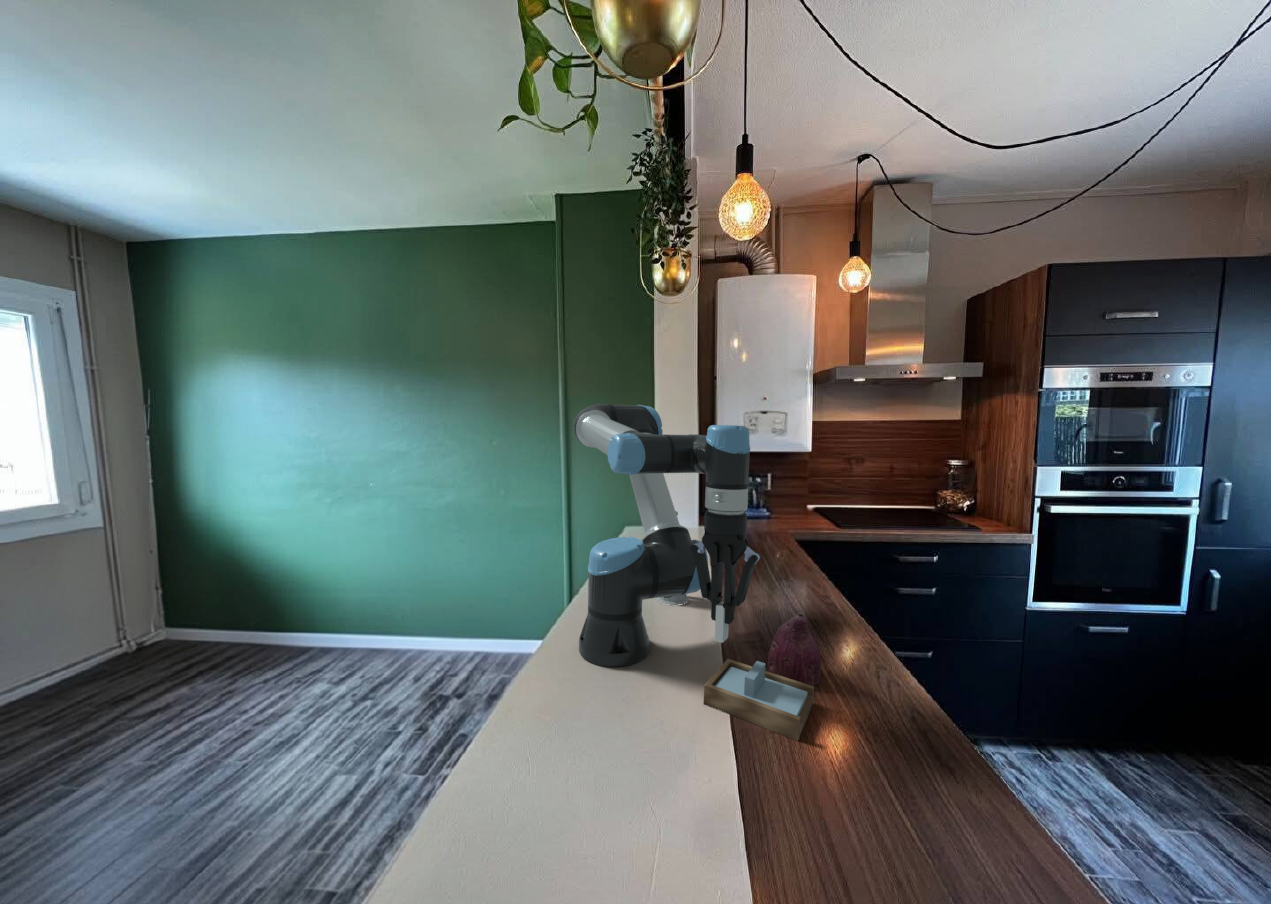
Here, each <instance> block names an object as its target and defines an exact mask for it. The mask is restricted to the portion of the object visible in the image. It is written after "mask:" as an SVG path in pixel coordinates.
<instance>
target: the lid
mask: <svg viewBox="0 0 1271 904" xmlns="http://www.w3.org/2000/svg"><path fill="white" fill-rule="evenodd" d="M766 664H767V663H765V662H761V661H758V660H756V661H755V662H754V664H753V665H752V668H751V669H750V671H749V672H746V671H743V670H740V669H737V668H734V667H730V668H729V669H728V671H727V672H726V673H725V674H724V675H723V677H722V678H721V679H720V680H719V681H718V683H717V684H716V685H715V686H717V687H719V688H722V689H725V690H728V691H730V692H733V693H736V694H739V695H741V696H744V697H747V698H750V699H752V700H755V701H758V702H761V703H763V704H766V705H769V706H772V707H774V708H777V709H780V710H783V711H785V712H788V713H791V714H794V715H796V716H799V713H800V711H801V709H802V707H803V705H804V702H805V700H806V698H807V693H808V692H807V691H804V690H801V689H797V688H794V687H791V686H788V685H785V684H782V683H779V682H776V681H773V680H770V679H767V678H765V671H766V666H767V665H766Z"/></svg>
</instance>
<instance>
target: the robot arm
mask: <svg viewBox="0 0 1271 904" xmlns="http://www.w3.org/2000/svg"><path fill="white" fill-rule="evenodd" d="M662 422H663V421H662V419H661V416H660V415H659V412H658V411H657V410H656V408H653V407H652V406H649V405H643V404H635V405H630V404H612V403H611V404H610V403H597V404H593V405H589V406H587V407H586V408H584V409H582V410H581V411H580V412H578V414H577V415H576V416H575V418H574V420H573V429H572V431H573V433H574V436H575V438H576V439H577V440H578V441H579V442H580V443H581V444H582V445H584V446H586V447H587V448H594V449H597V450H599V451H600V452H601V453H603V454H605V455H606V456H607V461H608V464H609V466H610V470H611V471H612V472H614V473H616V474H625V475H629V478H630V479H629V480H630V483H631V486H632V490H633V494H634V497H635V502H636V505H637V508H638V512H639V513H638V514H639V516H640V517H639V518H640V520H641V525H642V528H643V532H644V536H643V538H642V539H640V538H638V537H634V536H628V537H625V536H621V537H612V538H608V539H604V540H602V541H600V542H598V543H596V544H595V545H594V546H593V547H592V548H591V550H590V552H589V557H588V558H589V559H588V566H587V572H588V582H587V583H588V585H587V586H588V589H587V590H588V591H587V593H588V594H587V596H588V597H587V614H586V618H585V621H584V624H583V626H582V630H581V632H580V636H579V639H578V651H579V654H580V656H581V657H582V658H583V659H585V661H587V662H589V663H592V664H594V665H599V666H601V667H616V668H617V667H625V666H626V667H627V666H630V665H633V664H636V663H639V662H640V661H642V660H644V659H645V658H646V657H647V656H648V654H649V651H650V637H649V635H648V632H647V628H646V624H645V620H644V617H643V600H649V599H655V598H659V597H667V596H675V595H685V594H687V595H688V594H694V593H696V592H699V591H700V594H701V596H702V598H703V599H706V600H709V602H710V605H711V608H710V609H711V611H710V618H711V621H714V622H715V625H714V626H715V628H714V630H715V631H714V641H715V642H719V643H721V644H722V643H724V642H725V641H726V640H727V639H729V628H730V627H729V625H731V624H732V623H733V622H734V620H735V615H734V614H735V607H740V606H741V605H742V604H743V603H744V602H745V601H746V599H747V598H746V597H747V594H748V590H749V587H750V585H751V581H752V577H753V574H754V573H753V572H754V570H755V567H756V564H757V563H758V562H759V561H760V559H761V557H762V555H761V553H760V552H756V551H754V550H753V549H751V548H750V547H749V542H748V539H747V528H748V514H747V513H746V511H747V510H748V504H749V503H748V502H749V501H748V500H749V499H748V496H749V495H748V494H749V476H750V475H749V473H750V452H751V445H750V430H749V428H748V427H747V426H745V425H738V424H737V425H735V424H734V425H733V424H726V425H725V424H712V425H709V427H708V428H707V432H706V435H702V434H693V433H692V434H663V432H664V431H663V429H662V427H663V423H662ZM664 474H703V475H705V494H704V495H705V496H704V497H705V499H704V507H705V508H706V509H707V510H705V512H704V523H703V524H704V526H703V527H704V528H703V529H704V533H703V535H702V537H701V541H700V540H698V539H692V537H691V534H690V532H689V529H688V528H687V527H686V526H683V525H681V524H680V521H679V518H678V515H676V512H675V511H676V509H675V506H674V502H673V499H672V496H671V494H670V490H669V487H668V483H667V480H666V477H665V475H664ZM708 555H709V556H710V567H711V571H710V568H709V558H708ZM743 555H744V562H745V563H744V565H743V568H742V572H741V576H740V578H739V582H738V584H737V567H738V561H739V560H740V559H741V557H743ZM723 570H724V571H723ZM710 572H711V573H710ZM723 573H724V574H723ZM723 575H724V590H723ZM736 585H738V586H736ZM736 588H737V589H736ZM723 591H724V592H723ZM723 593H724V594H723ZM723 595H724V596H723ZM722 599H723V600H722Z"/></svg>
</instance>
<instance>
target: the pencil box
mask: <svg viewBox="0 0 1271 904" xmlns="http://www.w3.org/2000/svg"><path fill="white" fill-rule="evenodd" d="M730 667H734V668H737V669H740V670H743V671H746V672H749V671H750V669H751V668H752V667H753V665H752V666H751V665H749V664H746V663H742V662H739V661H736V660H733V659H730V658H727V659H726V660H725V661H724V662H723V663H722V665H720V667H719V668H718V669H717V670H716V671H715V672H714V674H713V675H712V676H711V677H710V678H709V679H708V681H707V682H706V683H704V686H703V705H705V706H708V707H710V708H712V707H713V709H715V708H716V709H715V710H718V709H719V710H718V711H720V710H722V711H721V712H723V711H724V712H723V713H725V712H726V714H727V715H731V716H733V717H736V718H738V719H741V720H743V721H746V722H748V723H751V724H754V725H756V726H759V727H761V728H764V729H766V730H769V731H771V732H774V733H776V734H778V735H781V736H784V737H786V738H789V739H792V740H794V741H797V742H798V741H799V740H800V737H801V735H802V733H803V731H804V728H805V726H806V723H807V722H808V719H809V716H810V713H811V711H812V709H813V707H814V696H815V685H814V686H811V685H808V684H805V683H802V682H799V681H795V680H792V679H789V678H786V677H783V676H780V675H777V674H774V673H771V672H768V671H767V670H765V678H767V679H770V680H773V681H776V682H779V683H782V684H785V685H788V686H791V687H794V688H797V689H801V690H804V691H807V692H808V693H807V698H806V700H805V702H804V705H803V707H802V709H801V711H800V713H799V716H796V715H794V714H791V713H788V712H785V711H783V710H780V709H777V708H774V707H772V706H769V705H766V704H763V703H761V702H758V701H755V700H752V699H750V698H747V697H744V696H741V695H739V694H736V693H733V692H730V691H728V690H725V689H722V688H719V687H717V686H715V685H716V684H717V683H718V681H719V680H720V679H721V678H722V677H723V675H724V674H725V673H726V672H727V671H728V669H729V668H730Z"/></svg>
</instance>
